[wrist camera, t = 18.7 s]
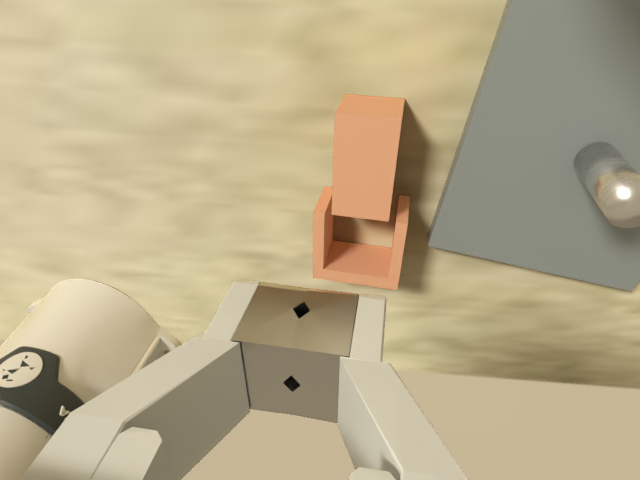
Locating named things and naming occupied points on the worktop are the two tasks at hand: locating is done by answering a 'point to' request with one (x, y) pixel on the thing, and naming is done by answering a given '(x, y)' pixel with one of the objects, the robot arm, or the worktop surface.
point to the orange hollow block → (362, 193)
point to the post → (610, 183)
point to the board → (548, 143)
